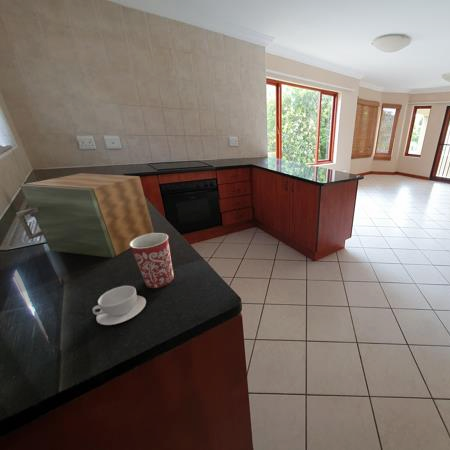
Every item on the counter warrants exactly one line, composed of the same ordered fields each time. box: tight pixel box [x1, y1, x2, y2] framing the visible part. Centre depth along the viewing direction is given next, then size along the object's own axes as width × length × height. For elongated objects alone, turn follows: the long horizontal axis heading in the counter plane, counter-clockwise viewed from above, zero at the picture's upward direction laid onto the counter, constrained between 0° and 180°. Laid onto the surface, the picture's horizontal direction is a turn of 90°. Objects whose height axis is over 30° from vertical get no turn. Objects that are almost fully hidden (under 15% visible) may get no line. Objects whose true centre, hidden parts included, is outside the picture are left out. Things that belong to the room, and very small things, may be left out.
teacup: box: [92, 285, 147, 326], centre depth 57 cm, size 10×10×5 cm
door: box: [16, 184, 116, 258], centre depth 76 cm, size 6×26×24 cm, turn 80°
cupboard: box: [24, 172, 155, 257], centre depth 87 cm, size 18×26×24 cm
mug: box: [129, 232, 175, 289], centre depth 68 cm, size 13×9×14 cm
